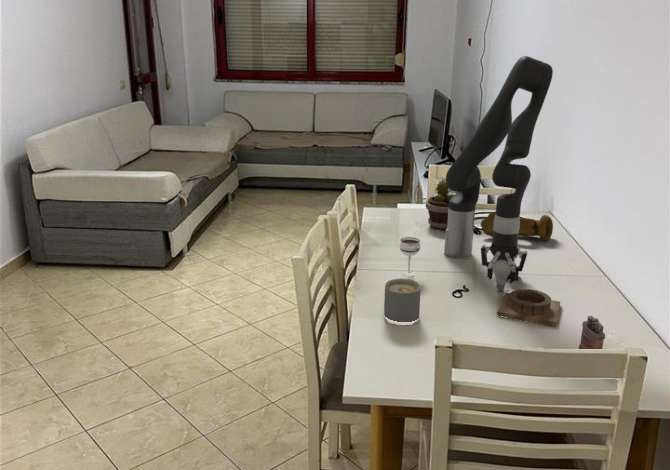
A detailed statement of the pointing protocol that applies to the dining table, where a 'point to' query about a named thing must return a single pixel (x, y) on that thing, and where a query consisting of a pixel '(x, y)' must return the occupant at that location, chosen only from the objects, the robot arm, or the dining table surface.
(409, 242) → the wineglass
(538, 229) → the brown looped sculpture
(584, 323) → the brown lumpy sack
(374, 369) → the dining table surface
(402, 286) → the coffee mug
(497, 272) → the lightbulb
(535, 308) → the lamp socket
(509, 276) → the watch
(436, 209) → the flowerpot
